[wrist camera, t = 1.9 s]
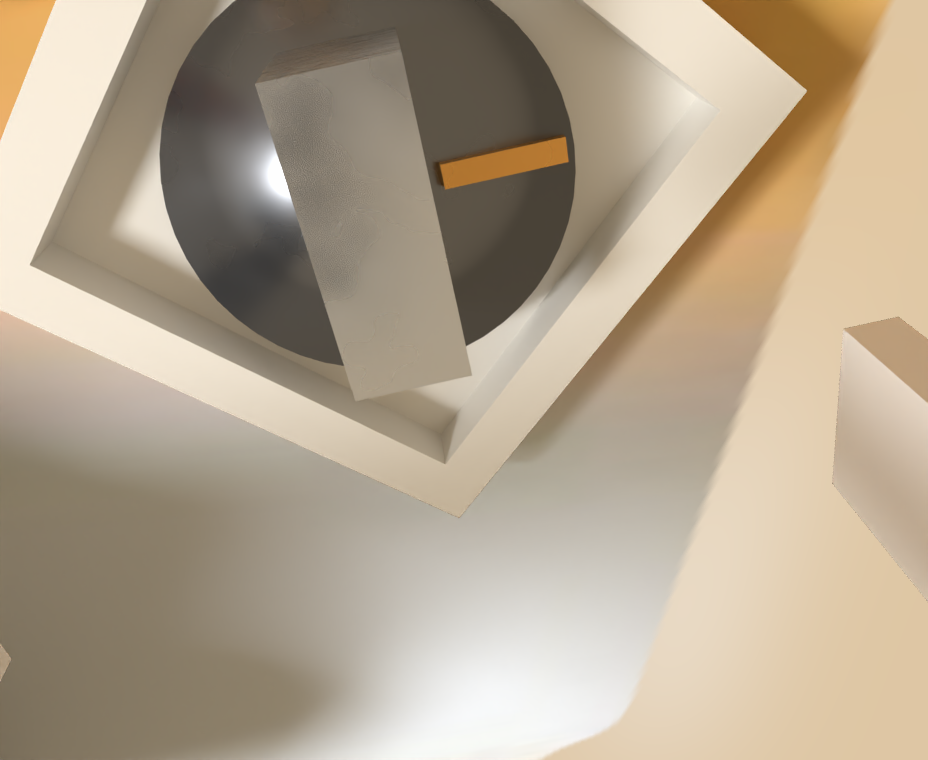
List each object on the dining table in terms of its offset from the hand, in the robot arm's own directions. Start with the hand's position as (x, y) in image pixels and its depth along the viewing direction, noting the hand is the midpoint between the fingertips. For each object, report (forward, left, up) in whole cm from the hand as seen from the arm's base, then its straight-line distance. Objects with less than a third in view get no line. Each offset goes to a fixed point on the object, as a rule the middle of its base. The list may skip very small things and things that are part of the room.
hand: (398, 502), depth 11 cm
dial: (0, 0, -17) cm, 17 cm away
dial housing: (0, 0, -20) cm, 20 cm away
